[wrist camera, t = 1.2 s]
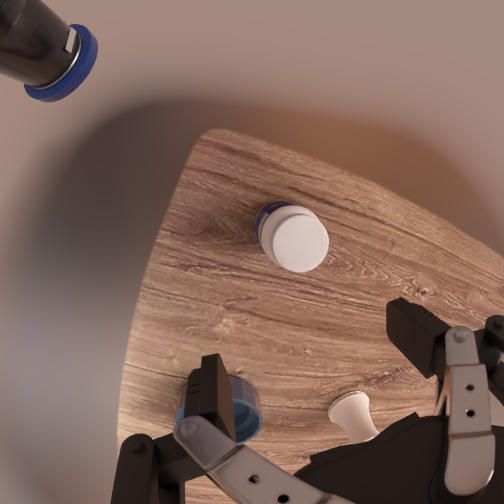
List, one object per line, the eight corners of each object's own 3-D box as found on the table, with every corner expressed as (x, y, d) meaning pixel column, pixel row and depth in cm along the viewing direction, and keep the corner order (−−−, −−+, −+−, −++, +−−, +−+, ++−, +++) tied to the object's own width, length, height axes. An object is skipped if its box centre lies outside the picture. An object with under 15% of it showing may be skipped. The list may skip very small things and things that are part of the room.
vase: (343, 388, 39) (367, 430, 29) (374, 393, 40) (399, 430, 31) (319, 417, 40) (336, 460, 31) (350, 420, 42) (370, 458, 32)
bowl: (163, 399, 36) (158, 422, 31) (214, 358, 35) (214, 382, 30) (221, 432, 39) (222, 454, 34) (274, 398, 38) (280, 421, 33)
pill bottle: (307, 206, 31) (343, 217, 21) (295, 253, 32) (325, 284, 23) (258, 195, 30) (275, 201, 20) (248, 244, 31) (258, 273, 22)
